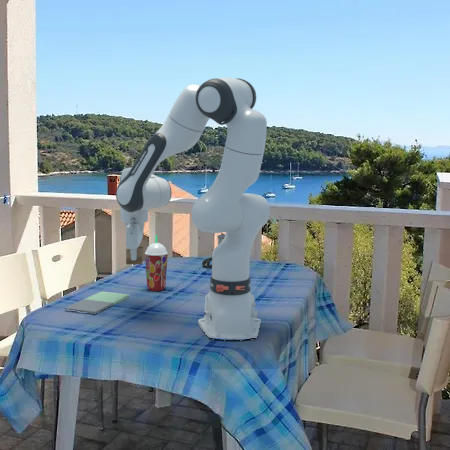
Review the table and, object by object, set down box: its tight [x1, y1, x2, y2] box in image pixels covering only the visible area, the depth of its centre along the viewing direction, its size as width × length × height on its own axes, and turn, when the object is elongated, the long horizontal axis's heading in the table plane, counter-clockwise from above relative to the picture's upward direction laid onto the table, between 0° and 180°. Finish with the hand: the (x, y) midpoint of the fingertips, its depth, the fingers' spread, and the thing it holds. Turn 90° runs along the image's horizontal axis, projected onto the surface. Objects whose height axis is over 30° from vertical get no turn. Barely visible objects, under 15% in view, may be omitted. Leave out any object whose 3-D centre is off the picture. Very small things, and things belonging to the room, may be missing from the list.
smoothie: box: [144, 234, 169, 292], centre depth 209 cm, size 8×8×20 cm
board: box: [64, 291, 130, 315], centre depth 190 cm, size 22×11×1 cm, turn 161°
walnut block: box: [125, 246, 144, 266], centre depth 188 cm, size 5×5×5 cm
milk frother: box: [201, 233, 226, 269], centre depth 245 cm, size 14×16×15 cm
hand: (134, 258), depth 188 cm, fingers closed on walnut block, 5 cm apart
